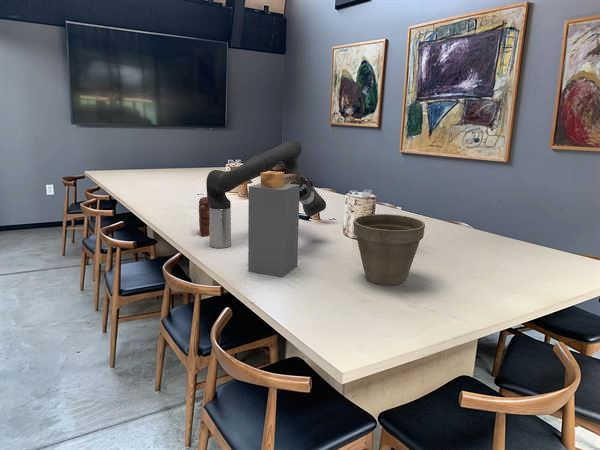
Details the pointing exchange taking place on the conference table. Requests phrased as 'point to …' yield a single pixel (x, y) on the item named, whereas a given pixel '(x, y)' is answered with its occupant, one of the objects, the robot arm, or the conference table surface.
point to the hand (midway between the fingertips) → (290, 177)
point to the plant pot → (387, 246)
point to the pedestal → (273, 229)
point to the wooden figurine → (204, 216)
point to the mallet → (276, 179)
